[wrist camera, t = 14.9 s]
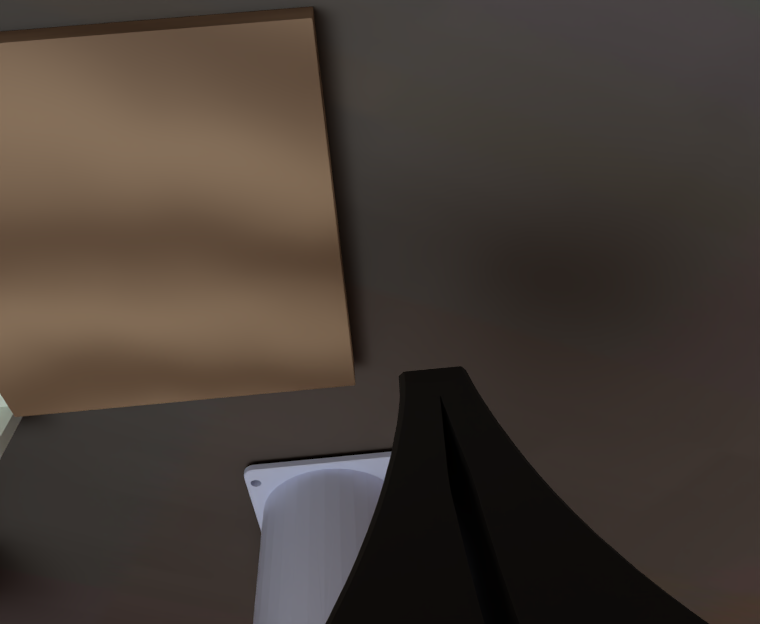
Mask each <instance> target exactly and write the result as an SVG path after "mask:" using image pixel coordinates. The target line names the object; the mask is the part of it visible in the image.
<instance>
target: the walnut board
mask: <svg viewBox="0 0 760 624" xmlns="http://www.w3.org/2000/svg"><path fill="white" fill-rule="evenodd" d="M351 385H355V371H354V357H353V349H352V340H351V331H350V323H349V314H348V305H347V297H346V288H345V280H344V271H343V262H342V254H341V245H340V236H339V228H338V219H337V210H336V202H335V193H334V184H333V176H332V167H331V158H330V150H329V141H328V132H327V124H326V115H325V106H324V98H323V89H322V80H321V72H320V63H319V55H318V46H317V37H316V29H315V20H314V11H313V7H301V8H289V9H276V10H264V11H251V12H239V13H226V14H214V15H201V16H189V17H177V18H164V19H152V20H139V21H127V22H114V23H102V24H89V25H77V26H64V27H52V28H39V29H27V30H14V31H2V32H0V394H1V396H2V397H3V399H4V401H5V402H6V404H7V405H8V407H9V408H10V410H11V412H12V413H13V415H14V416H15V417H21V416H32V415H42V414H53V413H64V412H74V411H85V410H96V409H106V408H117V407H127V406H138V405H149V404H159V403H170V402H181V401H191V400H202V399H212V398H223V397H234V396H244V395H255V394H266V393H276V392H287V391H298V390H308V389H319V388H329V387H340V386H351Z"/></svg>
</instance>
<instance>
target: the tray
mask: <svg viewBox="0 0 760 624" xmlns="http://www.w3.org/2000/svg"><path fill="white" fill-rule="evenodd" d="M22 417H23V416H21V417H15V416H14V415H13V413H12V412H11V410H10V408H9V407H8V405H7V404H6V402H5V401H4V399H3V397H2V396H1V394H0V458H1V456H2V454H3V453H4V451H5V449H6V447H7V445H8V443H9V441H10V439H11V438H12V436H13V434H14V432H15V430H16V428H17V426H18V424H19V423H20V421H21V419H22Z"/></svg>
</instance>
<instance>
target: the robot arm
mask: <svg viewBox="0 0 760 624" xmlns="http://www.w3.org/2000/svg"><path fill="white" fill-rule="evenodd" d="M399 387H400V404H399V413H398V421H397V427H396V432H395V437H394V442H393V447H392V451H391V452H380V453H370V454H359V455H349V456H339V457H328V458H318V459H308V460H297V461H287V462H277V463H266V464H256V465H250V466H248V467H246V469H245V471H244V479H245V482H246V485H247V488H248V492H249V495H250V498H251V501H252V504H253V507H254V510H255V514H256V517H257V520H258V523H259V526H260V529H261V543H260V554H259V565H258V575H257V586H256V597H255V608H254V619H253V624H708V623H707V622H706V621H704V620H703V619H701V618H700V617H699V616H697V615H696V614H694V613H693V612H692V611H690V610H689V609H688V608H686V607H685V606H684V605H682V604H681V603H680V602H678V601H677V600H676V599H674V598H673V597H671V596H670V595H669V594H667V593H666V592H665V591H664V590H662V589H661V588H660V587H659V586H657V585H656V584H655V583H654V582H652V581H651V580H650V579H649V578H647V577H646V576H645V575H644V574H642V573H641V572H640V571H638V570H637V569H636V568H635V567H634V566H633V565H632V564H630V563H629V562H628V561H627V560H626V559H625V558H623V557H622V556H621V555H620V554H619V553H618V552H617V551H615V550H614V549H613V548H612V547H611V546H610V545H609V544H607V543H606V542H605V541H604V540H603V539H602V538H601V537H599V536H598V535H597V534H596V533H595V532H594V531H593V530H592V529H591V528H590V527H589V526H588V525H587V524H586V523H585V522H584V521H583V520H582V519H580V518H579V517H578V516H577V515H576V514H575V513H574V512H573V511H572V510H571V509H570V508H569V507H568V505H567V504H566V503H565V502H564V501H563V500H562V499H561V498H560V497H559V496H558V495H557V494H556V493H555V492H554V491H553V490H552V489H551V488H550V486H549V485H548V484H547V483H546V482H545V481H544V480H543V479H542V477H541V476H540V475H539V474H538V473H537V472H536V470H535V469H534V468H533V467H532V466H531V464H530V463H529V462H528V461H527V460H526V458H525V457H524V456H523V455H522V453H521V452H520V451H519V450H518V448H517V447H516V446H515V444H514V443H513V442H512V440H511V439H510V438H509V436H508V435H507V434H506V432H505V431H504V430H503V428H502V427H501V426H500V424H499V423H498V422H497V420H496V419H495V417H494V416H493V414H492V413H491V411H490V410H489V408H488V407H487V405H486V404H485V402H484V401H483V399H482V398H481V396H480V394H479V393H478V391H477V389H476V388H475V386H474V384H473V383H472V381H471V379H470V377H469V375H468V373H467V371H466V370H465V369H464V368H462V367H461V366H460V367H450V368H439V369H428V370H417V371H407V372H403V373H402V374H401V375H400V376H399Z"/></svg>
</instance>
